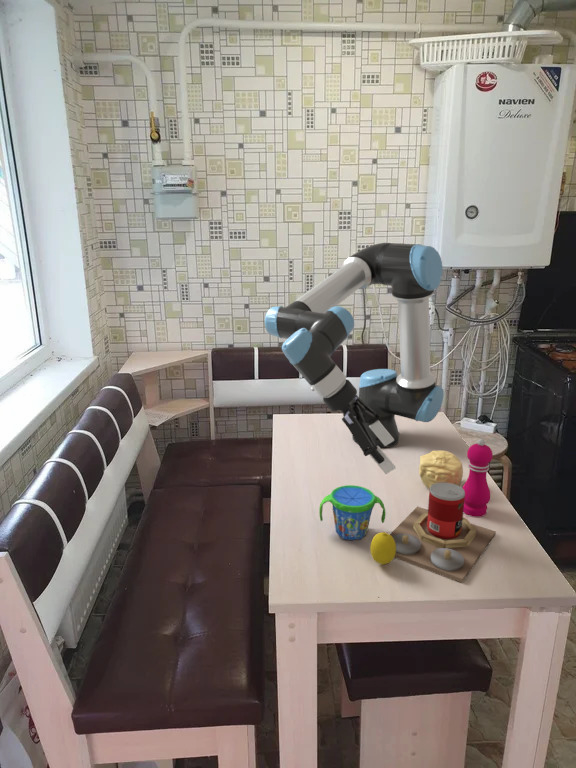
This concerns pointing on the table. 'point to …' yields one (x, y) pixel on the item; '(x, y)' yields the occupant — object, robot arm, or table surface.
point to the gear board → (440, 546)
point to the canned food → (445, 510)
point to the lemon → (383, 548)
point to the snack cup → (352, 510)
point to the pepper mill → (477, 480)
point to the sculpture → (440, 468)
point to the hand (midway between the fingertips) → (390, 456)
